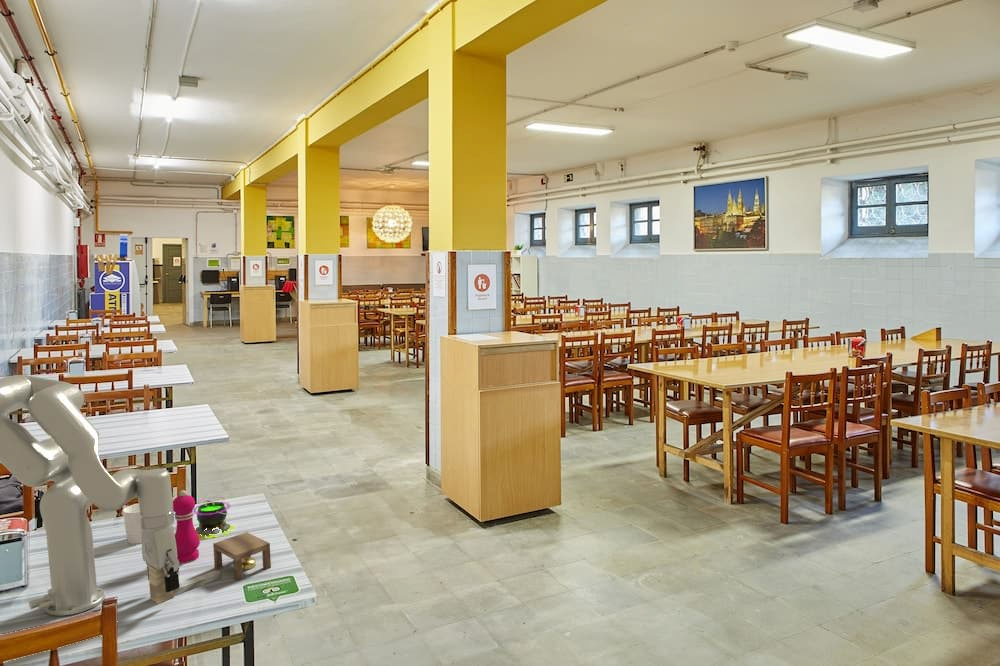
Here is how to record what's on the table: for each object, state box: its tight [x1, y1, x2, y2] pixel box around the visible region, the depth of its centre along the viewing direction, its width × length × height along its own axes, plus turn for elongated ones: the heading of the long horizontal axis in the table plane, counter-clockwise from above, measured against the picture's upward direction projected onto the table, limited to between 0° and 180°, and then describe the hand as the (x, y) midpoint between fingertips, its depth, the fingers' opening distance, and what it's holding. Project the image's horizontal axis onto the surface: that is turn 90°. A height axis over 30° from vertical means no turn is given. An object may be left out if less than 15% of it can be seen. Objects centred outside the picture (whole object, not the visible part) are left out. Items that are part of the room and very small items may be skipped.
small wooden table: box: [212, 531, 272, 581], centre depth 192 cm, size 10×12×7 cm
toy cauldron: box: [193, 494, 234, 540], centre depth 219 cm, size 15×15×11 cm
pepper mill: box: [172, 489, 201, 564], centre depth 197 cm, size 7×7×20 cm
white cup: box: [122, 503, 142, 545], centre depth 211 cm, size 8×8×10 cm
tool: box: [147, 561, 222, 605], centre depth 180 cm, size 17×4×9 cm, turn 140°
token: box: [241, 556, 257, 572], centre depth 193 cm, size 5×5×2 cm
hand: (163, 584), depth 175 cm, fingers open, 9 cm apart
